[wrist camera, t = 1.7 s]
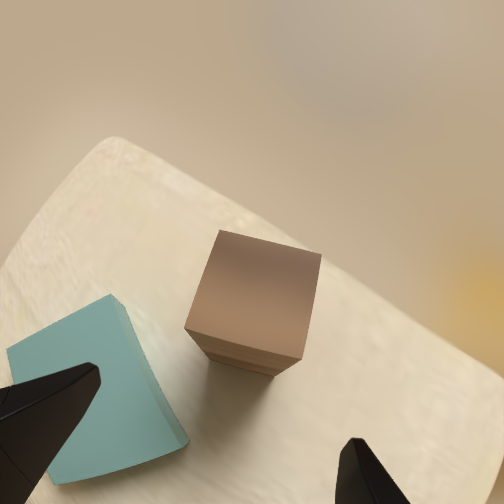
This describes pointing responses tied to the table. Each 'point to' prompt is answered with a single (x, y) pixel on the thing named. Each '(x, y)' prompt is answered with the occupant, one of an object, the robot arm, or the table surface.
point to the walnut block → (254, 303)
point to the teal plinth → (102, 392)
